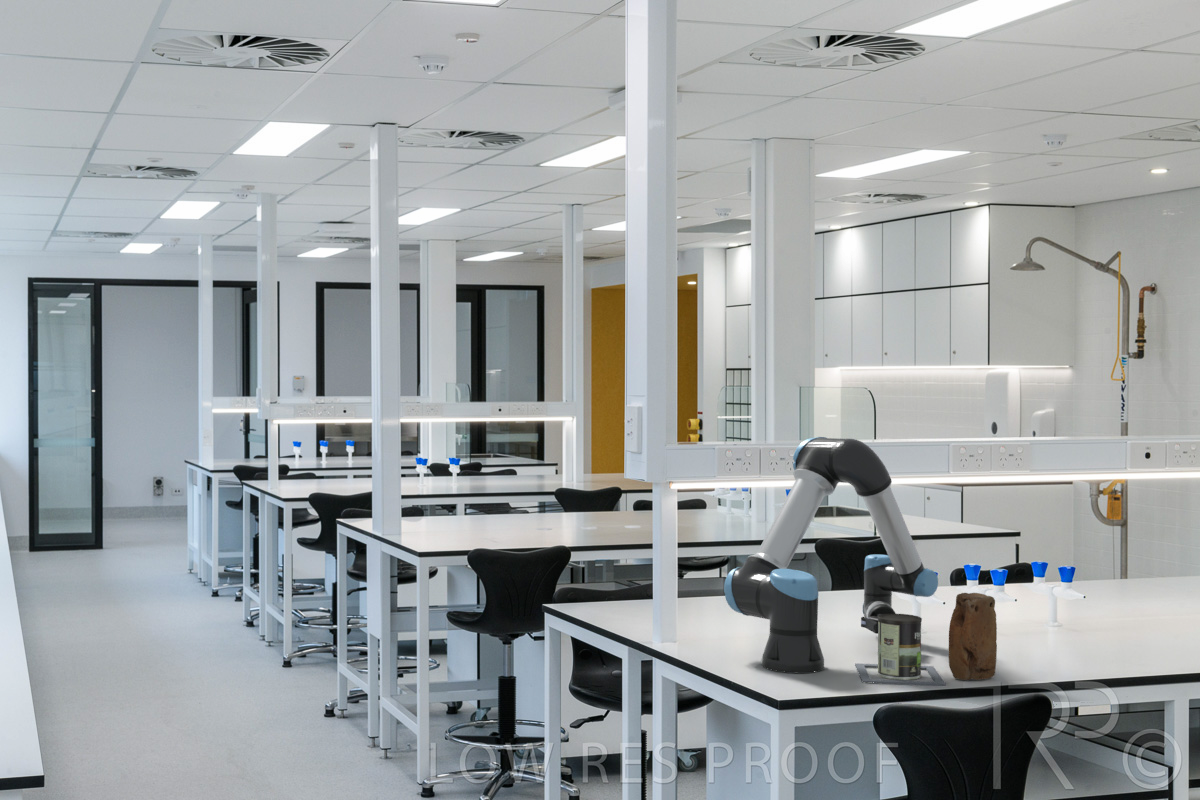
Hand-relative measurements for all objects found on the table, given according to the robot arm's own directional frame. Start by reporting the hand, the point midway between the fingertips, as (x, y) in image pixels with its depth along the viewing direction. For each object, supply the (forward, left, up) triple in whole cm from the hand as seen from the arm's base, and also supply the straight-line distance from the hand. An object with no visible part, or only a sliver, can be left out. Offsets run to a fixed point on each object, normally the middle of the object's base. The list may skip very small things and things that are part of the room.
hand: (892, 634), depth 305 cm
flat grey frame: (0, -14, -7) cm, 16 cm away
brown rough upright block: (+17, -14, -7) cm, 23 cm away
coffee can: (0, -14, -7) cm, 16 cm away
